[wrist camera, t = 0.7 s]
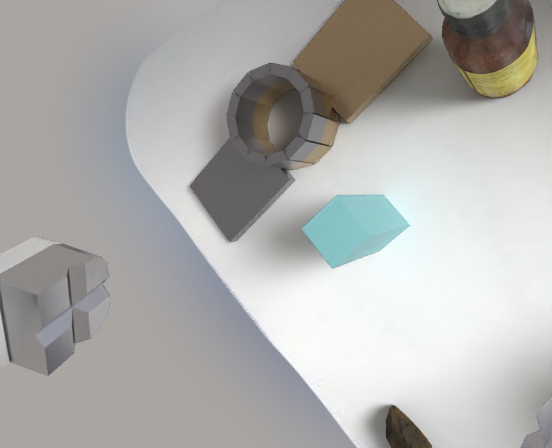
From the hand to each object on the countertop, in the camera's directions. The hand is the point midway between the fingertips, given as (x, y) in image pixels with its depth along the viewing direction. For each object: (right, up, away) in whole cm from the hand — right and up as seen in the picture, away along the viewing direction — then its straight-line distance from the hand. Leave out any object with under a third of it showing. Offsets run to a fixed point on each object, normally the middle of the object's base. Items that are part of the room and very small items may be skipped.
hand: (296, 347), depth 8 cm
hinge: (+2, +15, +47) cm, 49 cm away
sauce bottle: (+22, +18, +36) cm, 46 cm away
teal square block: (+12, +2, +43) cm, 44 cm away
